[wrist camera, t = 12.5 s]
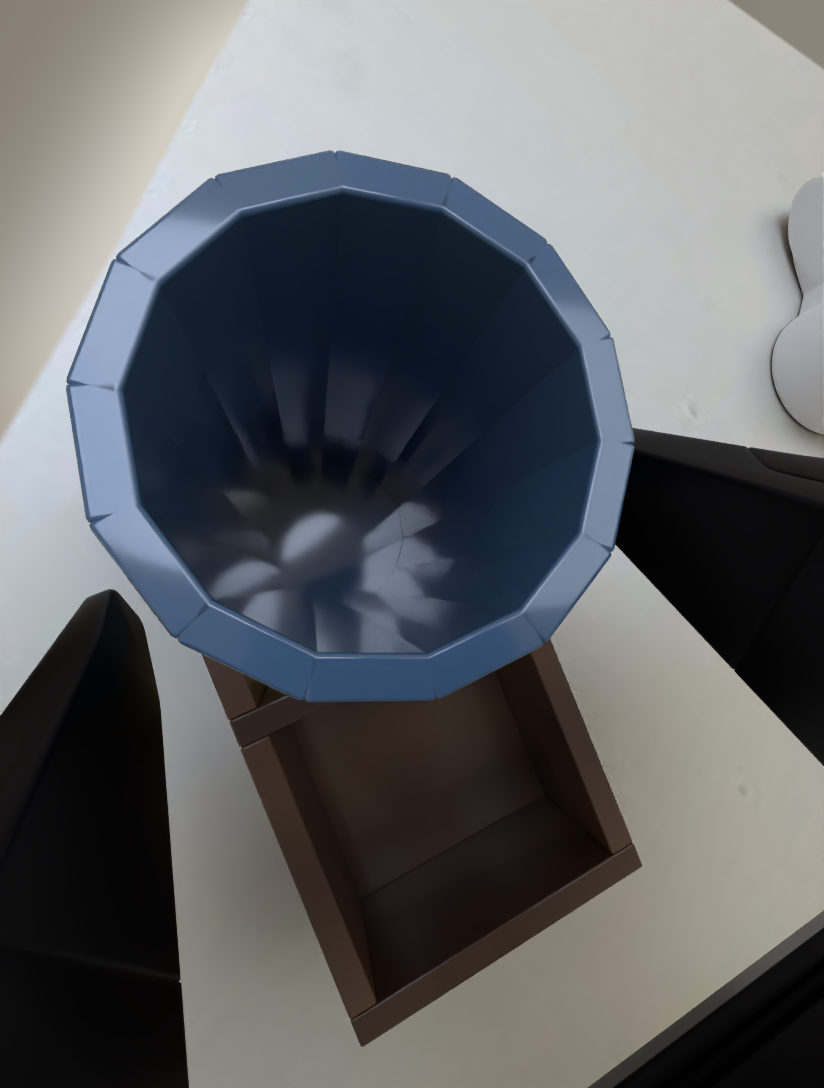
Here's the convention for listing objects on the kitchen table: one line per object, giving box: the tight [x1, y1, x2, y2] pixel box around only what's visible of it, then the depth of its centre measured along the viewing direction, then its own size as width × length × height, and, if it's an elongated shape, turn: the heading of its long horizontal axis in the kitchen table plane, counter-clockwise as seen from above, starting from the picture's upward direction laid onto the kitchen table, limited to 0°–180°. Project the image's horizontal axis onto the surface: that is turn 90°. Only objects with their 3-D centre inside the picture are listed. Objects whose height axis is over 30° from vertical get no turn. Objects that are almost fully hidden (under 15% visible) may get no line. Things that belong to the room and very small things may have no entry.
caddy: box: [202, 639, 642, 1047], centre depth 16 cm, size 18×9×5 cm, turn 23°
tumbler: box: [66, 150, 635, 703], centre depth 11 cm, size 6×6×13 cm
